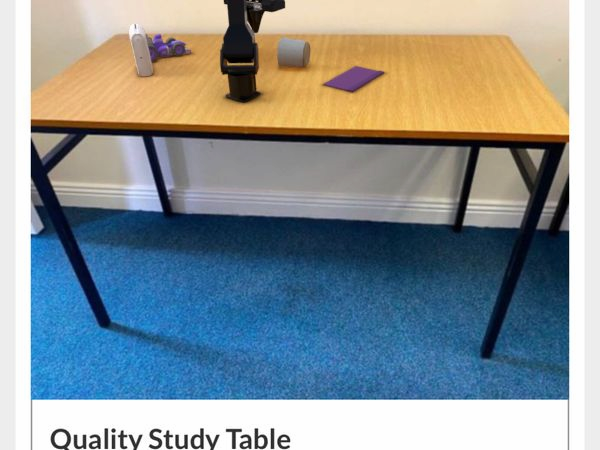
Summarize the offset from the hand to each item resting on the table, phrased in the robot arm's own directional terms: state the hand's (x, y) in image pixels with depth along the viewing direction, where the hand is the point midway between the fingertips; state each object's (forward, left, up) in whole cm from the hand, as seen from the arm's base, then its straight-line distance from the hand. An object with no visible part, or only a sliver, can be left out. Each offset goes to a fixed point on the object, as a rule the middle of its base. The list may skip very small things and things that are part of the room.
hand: (256, 32), depth 138 cm
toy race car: (-15, +25, -7) cm, 30 cm away
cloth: (0, -34, -7) cm, 35 cm away
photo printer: (-27, +19, -7) cm, 34 cm away
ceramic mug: (0, -14, -7) cm, 16 cm away
